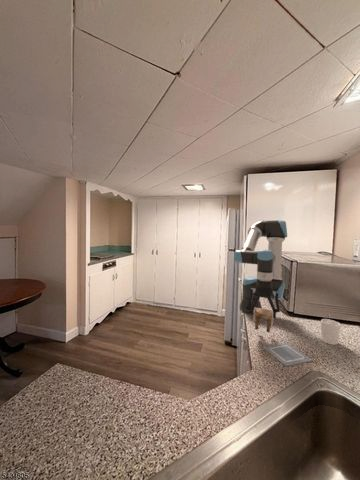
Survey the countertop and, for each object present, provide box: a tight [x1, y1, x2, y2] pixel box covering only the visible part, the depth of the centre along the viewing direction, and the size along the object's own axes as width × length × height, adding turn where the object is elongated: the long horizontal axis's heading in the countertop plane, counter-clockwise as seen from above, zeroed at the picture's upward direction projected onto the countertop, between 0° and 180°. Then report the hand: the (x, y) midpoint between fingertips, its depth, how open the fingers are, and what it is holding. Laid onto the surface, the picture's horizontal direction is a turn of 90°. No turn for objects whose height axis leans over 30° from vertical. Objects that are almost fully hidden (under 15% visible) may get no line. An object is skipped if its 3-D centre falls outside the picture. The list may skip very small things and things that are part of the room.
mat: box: [262, 342, 313, 367], centre depth 92 cm, size 14×14×1 cm
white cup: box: [320, 318, 341, 346], centre depth 103 cm, size 8×8×10 cm
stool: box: [253, 308, 273, 333], centre depth 107 cm, size 8×8×9 cm
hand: (263, 321), depth 107 cm, fingers closed on stool, 8 cm apart
